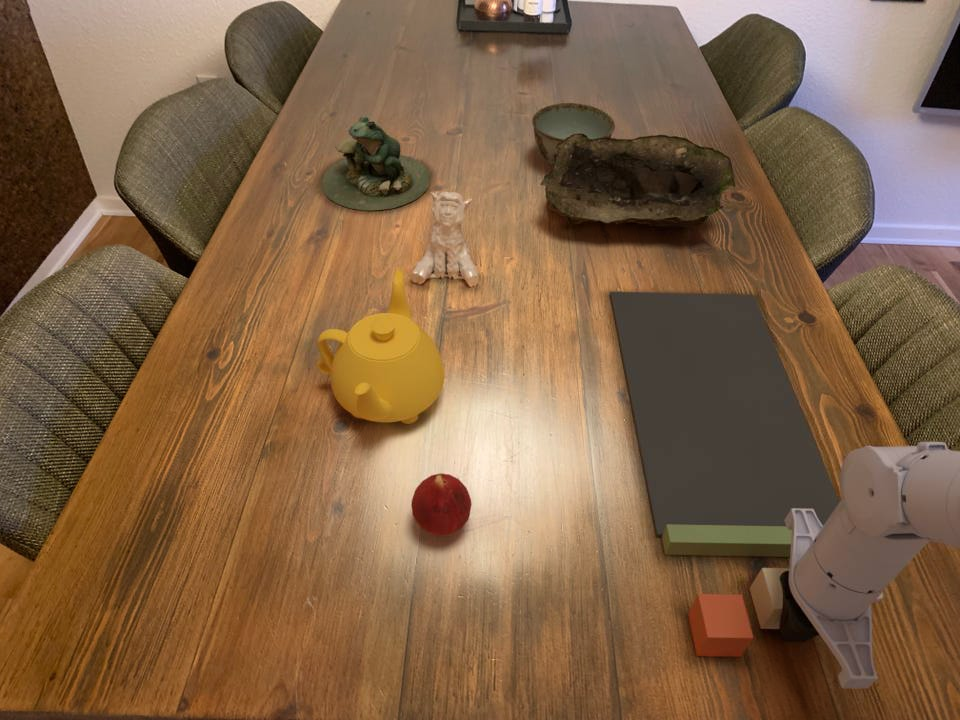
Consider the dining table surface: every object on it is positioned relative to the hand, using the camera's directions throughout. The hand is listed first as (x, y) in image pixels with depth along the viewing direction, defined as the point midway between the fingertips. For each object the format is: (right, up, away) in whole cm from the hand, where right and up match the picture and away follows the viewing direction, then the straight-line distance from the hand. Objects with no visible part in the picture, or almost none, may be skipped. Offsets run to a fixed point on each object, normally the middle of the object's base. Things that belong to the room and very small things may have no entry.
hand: (792, 634), depth 63 cm
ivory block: (0, +1, +3) cm, 4 cm away
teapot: (-39, +20, +21) cm, 49 cm away
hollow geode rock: (-5, +46, +48) cm, 66 cm away
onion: (-32, +8, +9) cm, 34 cm away
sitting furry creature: (-33, +38, +39) cm, 63 cm away
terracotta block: (-7, -1, +1) cm, 7 cm away
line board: (0, +20, +22) cm, 30 cm away
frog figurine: (-45, +54, +55) cm, 89 cm away
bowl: (-13, +58, +60) cm, 85 cm away
